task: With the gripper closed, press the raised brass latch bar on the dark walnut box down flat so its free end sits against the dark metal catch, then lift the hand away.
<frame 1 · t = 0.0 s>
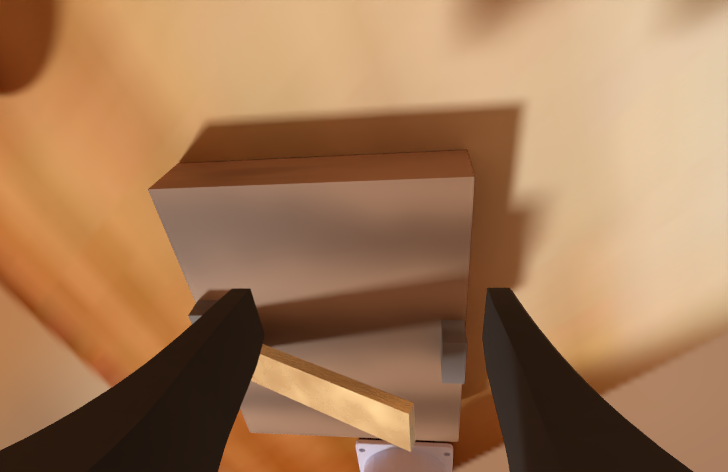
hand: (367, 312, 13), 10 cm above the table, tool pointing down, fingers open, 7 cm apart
latch bar: (301, 381, 22), point 6 cm above the table, hinge at 22.0°
walnut box: (339, 303, 26), on the table
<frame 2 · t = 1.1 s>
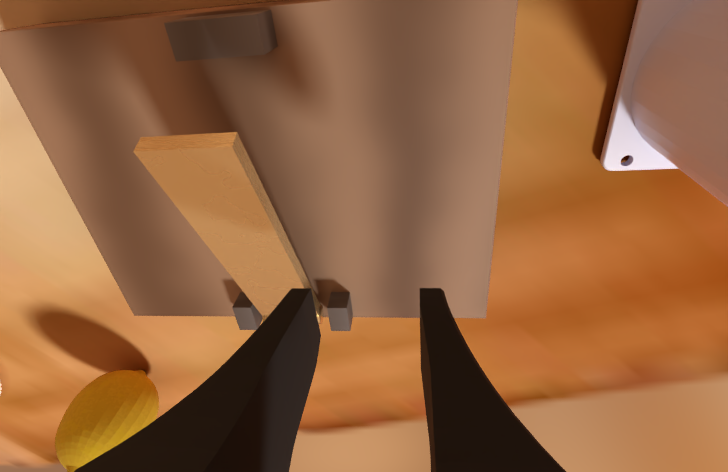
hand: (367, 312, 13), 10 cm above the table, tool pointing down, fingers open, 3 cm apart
latch bar: (256, 256, 17), point 6 cm above the table, hinge at 22.0°
walnut box: (288, 169, 21), on the table
lemon: (143, 369, 32), on the table
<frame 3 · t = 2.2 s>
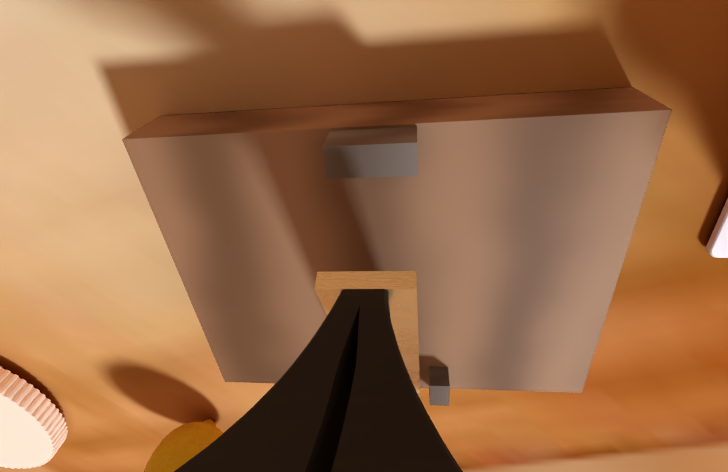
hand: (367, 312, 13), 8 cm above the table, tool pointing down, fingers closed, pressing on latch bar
latch bar: (382, 351, 17), point 6 cm above the table, hinge at 22.0°, touching gripper
walnut box: (388, 247, 22), on the table
lemon: (211, 418, 33), on the table
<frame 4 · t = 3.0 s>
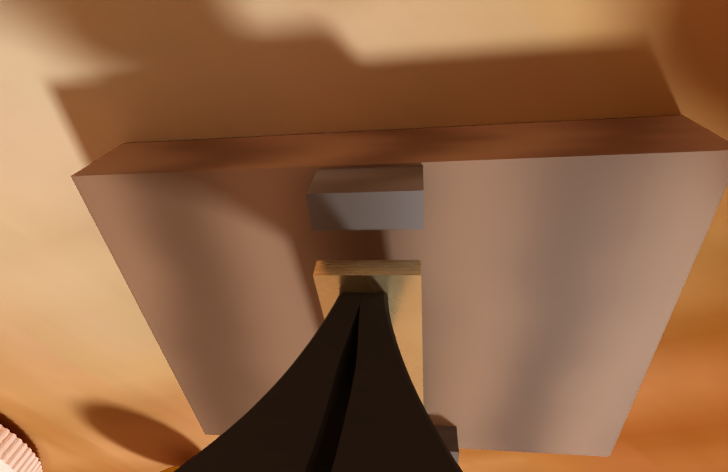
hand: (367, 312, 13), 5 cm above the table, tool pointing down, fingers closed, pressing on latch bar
latch bar: (383, 384, 16), point 5 cm above the table, hinge at 7.2°, touching gripper
walnut box: (388, 289, 19), on the table
lemon: (196, 459, 30), on the table
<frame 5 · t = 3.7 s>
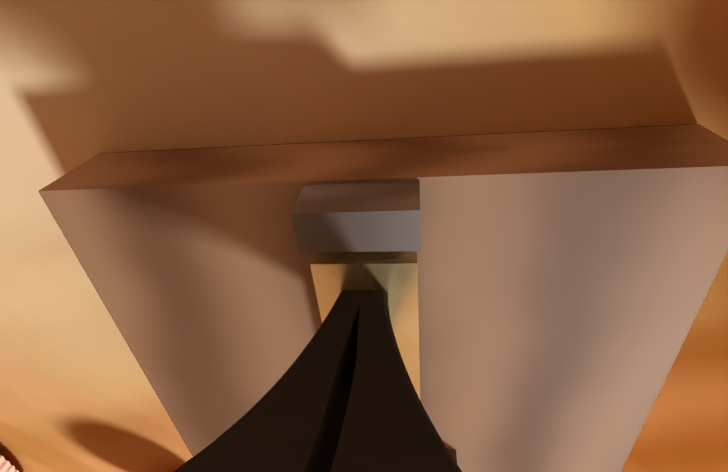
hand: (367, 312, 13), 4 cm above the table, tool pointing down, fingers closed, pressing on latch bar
latch bar: (379, 393, 15), point 4 cm above the table, hinge at 0.4°, touching gripper
walnut box: (384, 306, 18), on the table
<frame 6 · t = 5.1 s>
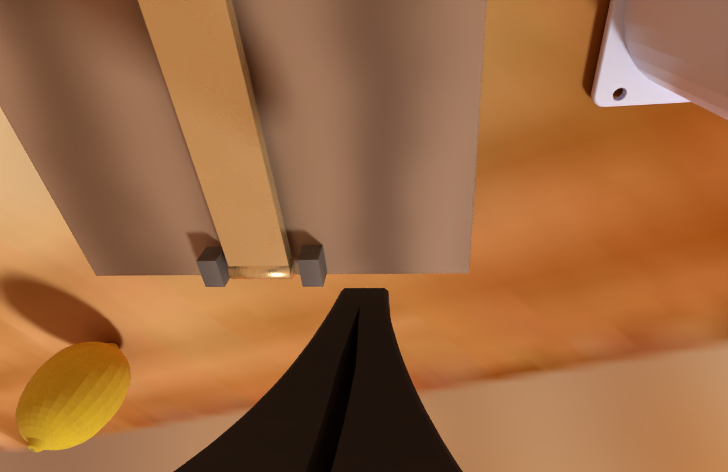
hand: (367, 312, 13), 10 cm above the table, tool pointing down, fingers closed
latch bar: (230, 158, 17), point 4 cm above the table, hinge at 0.3°
walnut box: (255, 112, 20), on the table
lemon: (116, 342, 31), on the table
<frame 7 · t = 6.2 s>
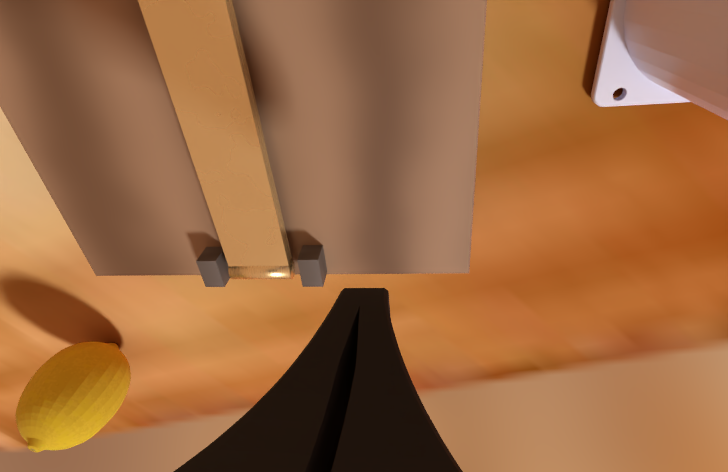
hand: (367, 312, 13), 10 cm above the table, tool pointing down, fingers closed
latch bar: (230, 158, 17), point 4 cm above the table, hinge at 0.3°
walnut box: (255, 112, 20), on the table
lemon: (116, 342, 31), on the table
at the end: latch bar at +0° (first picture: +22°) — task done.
